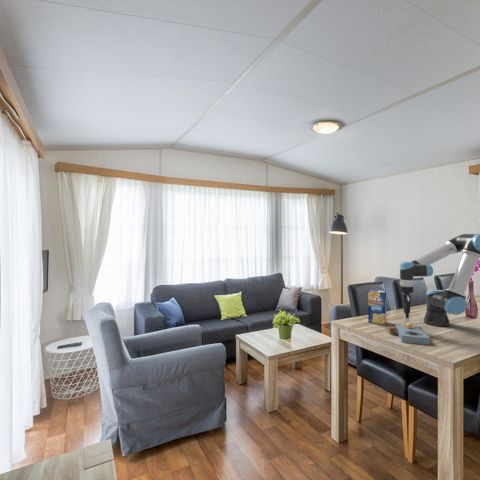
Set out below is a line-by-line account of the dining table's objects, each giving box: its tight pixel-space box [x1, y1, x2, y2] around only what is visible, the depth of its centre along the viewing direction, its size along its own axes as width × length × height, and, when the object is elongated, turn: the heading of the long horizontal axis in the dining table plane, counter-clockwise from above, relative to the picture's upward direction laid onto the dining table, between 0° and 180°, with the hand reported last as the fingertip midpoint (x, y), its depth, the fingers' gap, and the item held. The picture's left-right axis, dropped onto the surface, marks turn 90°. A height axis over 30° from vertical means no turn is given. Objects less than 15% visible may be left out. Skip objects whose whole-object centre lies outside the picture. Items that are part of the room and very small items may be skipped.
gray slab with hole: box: [394, 324, 431, 345], centre depth 181 cm, size 22×14×4 cm, turn 161°
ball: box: [405, 321, 414, 328], centre depth 186 cm, size 4×4×4 cm
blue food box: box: [367, 289, 387, 325], centre depth 212 cm, size 7×11×22 cm, turn 61°
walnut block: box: [386, 325, 398, 336], centre depth 188 cm, size 4×4×4 cm
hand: (406, 322), depth 194 cm, fingers closed
